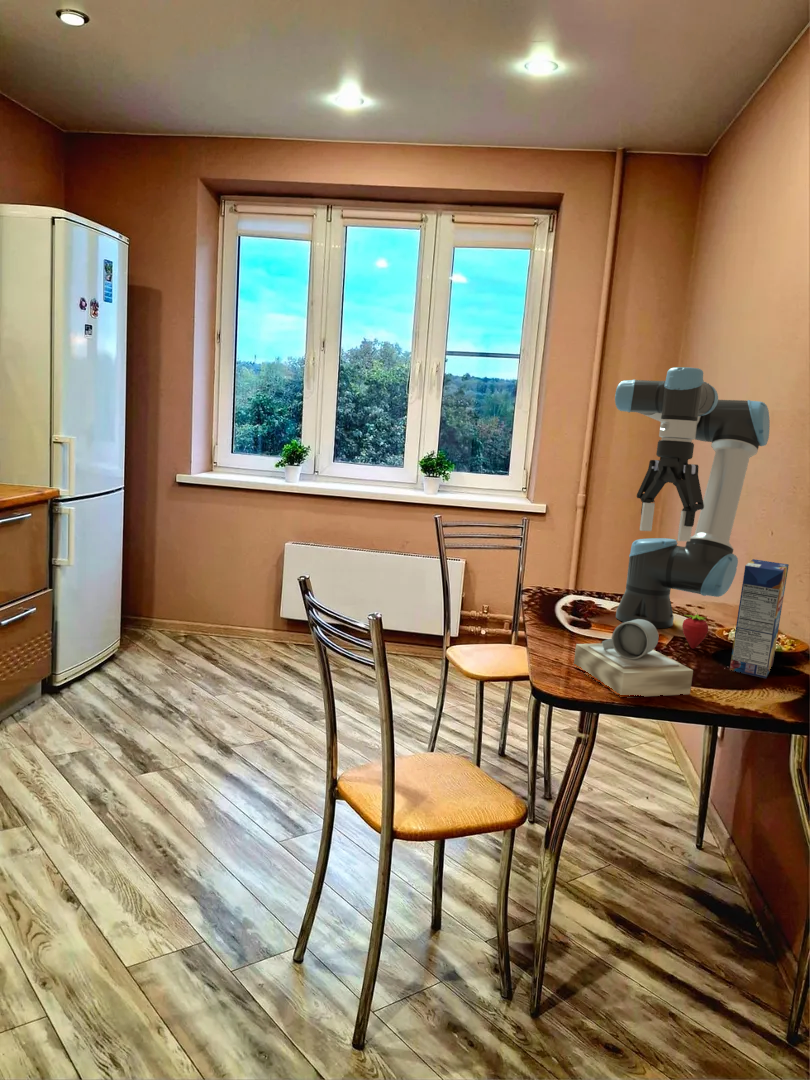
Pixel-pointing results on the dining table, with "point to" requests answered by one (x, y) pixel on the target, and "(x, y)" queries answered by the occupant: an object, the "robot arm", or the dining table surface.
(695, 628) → the strawberry
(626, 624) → the ceramic mug
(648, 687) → the cream flat rectangular piece
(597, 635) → the dining table surface
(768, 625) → the juice carton
